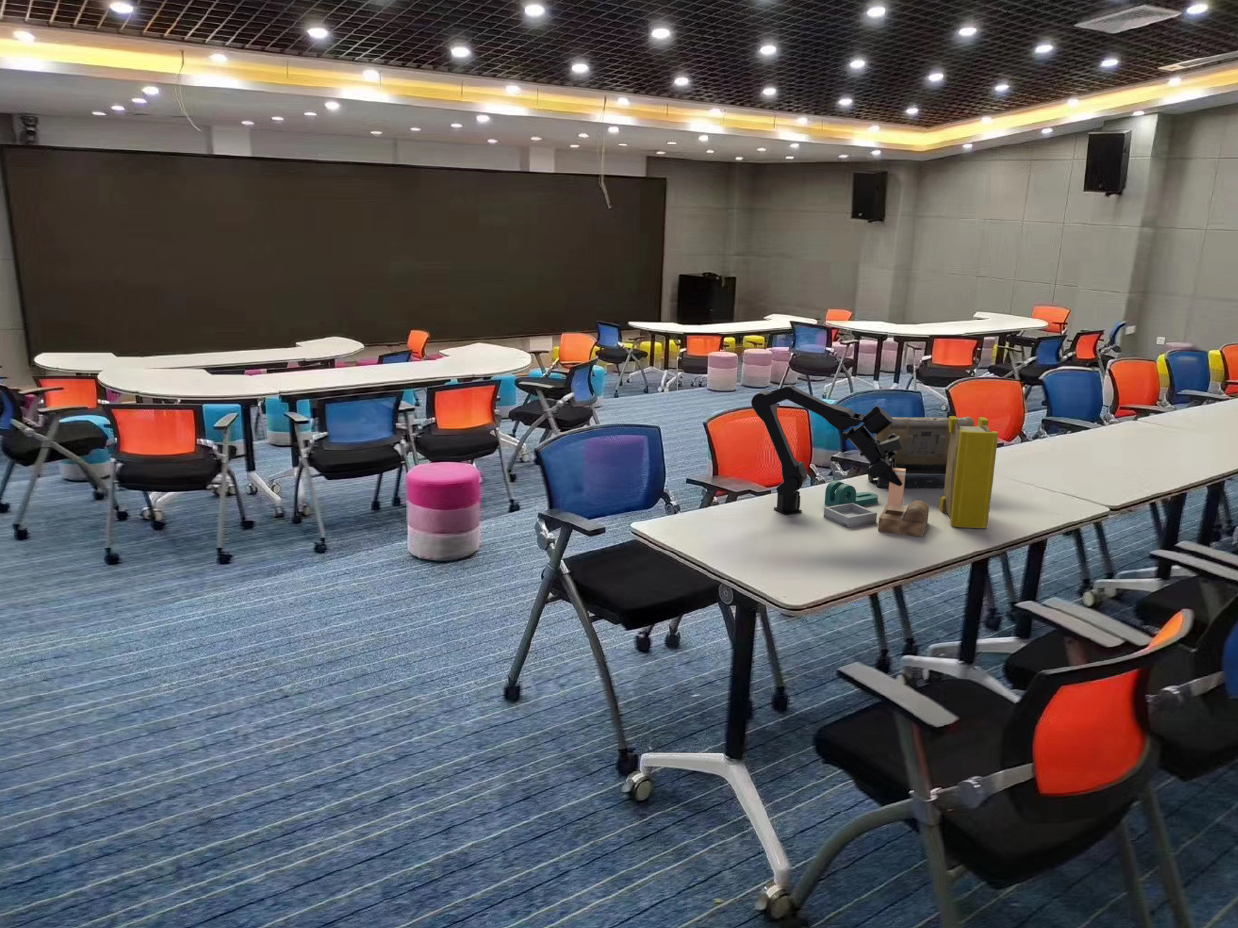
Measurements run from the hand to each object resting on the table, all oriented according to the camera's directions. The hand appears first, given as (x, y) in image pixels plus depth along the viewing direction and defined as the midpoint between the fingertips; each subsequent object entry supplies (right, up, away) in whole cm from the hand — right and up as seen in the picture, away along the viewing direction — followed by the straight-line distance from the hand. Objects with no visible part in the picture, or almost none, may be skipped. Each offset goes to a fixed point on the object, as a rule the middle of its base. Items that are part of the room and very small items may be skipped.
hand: (901, 484), depth 248 cm
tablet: (+21, -1, +46) cm, 51 cm away
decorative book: (+22, -11, +11) cm, 27 cm away
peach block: (-1, -6, +2) cm, 7 cm away
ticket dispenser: (+1, -13, +3) cm, 13 cm away
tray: (-13, -11, +9) cm, 19 cm away
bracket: (-7, -7, +25) cm, 27 cm away
